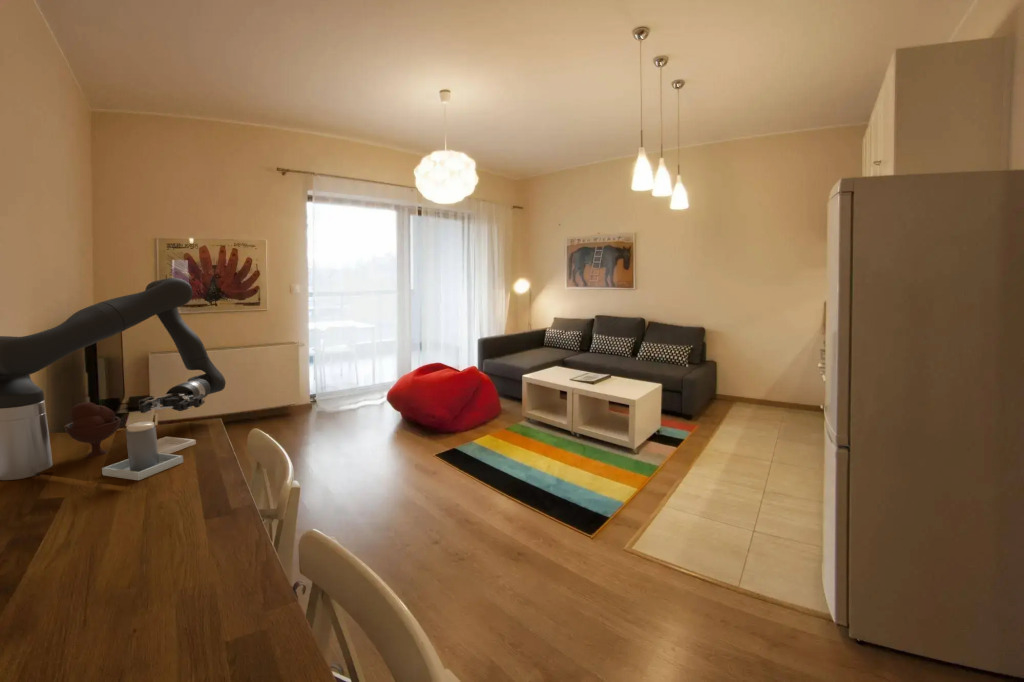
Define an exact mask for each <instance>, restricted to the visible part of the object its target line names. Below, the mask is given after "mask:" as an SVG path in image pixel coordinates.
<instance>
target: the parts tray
mask: <svg viewBox="0 0 1024 682" xmlns="http://www.w3.org/2000/svg"><path fill="white" fill-rule="evenodd" d="M196 441H197V440H196V439H191V438H182V437H173V436H164V437H161V438H157V448H158V453H165V454H173V453H176V452H178V451H181V450H184V449H187V448H190V447H192V446H194V445H196V444H197V442H196Z"/></svg>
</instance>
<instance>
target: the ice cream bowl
mask: <svg viewBox="0 0 1024 682" xmlns="http://www.w3.org/2000/svg"><path fill="white" fill-rule="evenodd" d="M68 414H69V415H68V416H69V417H70V419H71V420H72V422H70V423H66V424H65V425H63V427H64V429H65V432H66V433H67V434H68V435H69V436H70V437H71V438H72V439H73V440H74V441H75V440H76V441H78V442H80V443H83V444H90V445H91V451H90V452H89V453H87V454H86V455H85V457H86V458H95V457H100V456H103V455H106V454H108V453H109V451H108V450H104V449H102V448H101V447H102V446H101V444H102V442H103V441H105V440H106V439H108V438H110V437H111V436H112V435H114V434H115V433H116V432H117V431H118V430H119V429H120V426H121V422H122V418H120V417H119V416H116V414H115V411H114V410H112V409H111V408H109V407H107V406H105V405H100V404H99V405H98V404H96V403H94V402H92V401H91V402H86V401H85V402H84V401H83V402H80V403H78V404H75V405H74V406H73V407H72V408H71V409H70V411H69V413H68Z"/></svg>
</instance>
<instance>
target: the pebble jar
mask: <svg viewBox="0 0 1024 682" xmlns="http://www.w3.org/2000/svg"><path fill="white" fill-rule="evenodd" d="M125 436H126V446H127V456H128V457H127V459H129V468H130V471H136V472H140V471H142V470H145V469H147V468H150V467H153V466H155V465H158V464H159V459H158V448H157V439H158V438H157V437H158V436H157V428H156V425H155V422H154V421H139V422H134V423H131V424H128V425H126V430H125Z"/></svg>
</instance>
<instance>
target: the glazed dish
mask: <svg viewBox="0 0 1024 682" xmlns="http://www.w3.org/2000/svg"><path fill="white" fill-rule="evenodd" d="M158 459H159V464H158V465H155V466H153V467H150V468H147V469H145V470H142V471H140V472H136V471H130V468H129V458H127V459H124V460H121V461H119V462H116V463H112V464H110V465H107V466H104V467H102V468H101V473H102V476H105V477H113V478H119V479H126V480H134V481H141V480H143V479H146V478H149V477H151V476H153V475H156V474H158V473H161V472H163V471H166V470H167V469H171V468H173V467H175V466H177V465H180V464H183V463H184V455H181V454H180V455H178V454H173V453H171V454H165V453H158Z"/></svg>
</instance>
